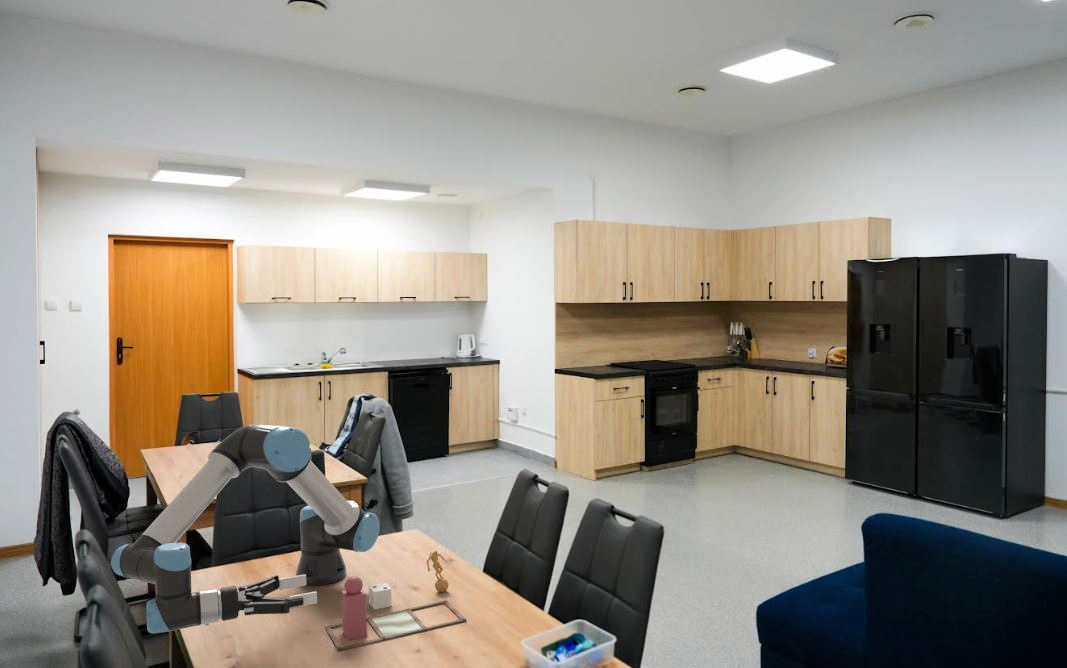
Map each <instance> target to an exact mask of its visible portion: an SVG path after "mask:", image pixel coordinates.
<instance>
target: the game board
mask: <svg viewBox="0 0 1067 668" xmlns="http://www.w3.org/2000/svg"><path fill="white" fill-rule="evenodd" d="M439 605H445V606H446V607H447V608H448V609H449V610H450V611H451V612H452V613H453V614H454V615H456V617H457V618H458V619H456V620H452V621H448V622H443V623H439V624H435V625H431V626H425V624H424V623H423V622H422V621H421V619H419V618H418V616H416V614H415V613H414V612H413V611H417V610H421V609H426V608H431V607H435V606H439ZM367 620H368V621H367V623H369V625H370V627H372V629H373V630H374V631H375V633H376V634H377V636H378V638H374V639H370V640H365V641H362V642H358V643H352V644H349V645H344V646H342V645H341V643H340V642H339V640H338V639H337V637H336V635H335V633H334V632H333V630H332V629H334V628H335V627H336V628H340V627H343V622H341V623H336V624H331V625H327V626H324V627H325V628H326V629H325V630H326V632H327V634H328V635H329V637H330V640H331V641H332V642H334V643H333V644H334V646H335V648H336V649H338V650H337V651H338V652H340V651H345V650H346V651H347V650H350V649H354V648H358V647H361V646H366V645H371V644H375V643H379V642H383V641H387V640H392V639H393V640H394V639H397V638H401V637H405V636H409V635H413V634H418V633H424V632H427V631H430V630H434V629H440V628H443V627H447V626H452V625H457V624H459V623H460V624H462V623H465V622H467V618H465V617H464V616H463V615H462V614H461V613H460V612H459V611H458V610H457V609H456V608H455V607H454V606H453V605H452V604H451V603H449V601H448V600H442V601H436V602H432V603H428V604H424V605H419V606H415V607H410V608H404V609H401V610H395V611H391V612H386V613H382V614H377V615H373V616H368V617H367ZM339 626H340V627H339Z"/></svg>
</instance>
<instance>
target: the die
mask: <svg viewBox="0 0 1067 668" xmlns="http://www.w3.org/2000/svg"><path fill="white" fill-rule="evenodd" d="M368 603H369V605H370V606H371V608H372V609H373V610H380V608H381V609H384V608H390V607H392V588H391V587H390V586H389V584H388V583H387V582H384V583H379V584H374V585H373V584H372V585H369V586H368Z"/></svg>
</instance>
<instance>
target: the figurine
mask: <svg viewBox="0 0 1067 668" xmlns="http://www.w3.org/2000/svg"><path fill="white" fill-rule="evenodd" d="M439 557H440V558H441V560H443V561H444V562H445V564H447V561H446V558H444V557H443V556H442V555H441V554H440V553H438V550H435V551H431V552H430V553H429V557H428V558H427V560H426V564H427V565H426V566H427V572H428V573H430V572H431V568H430V565H429V564H430V562H429V561H432V563H433V564H432V568H433V569H434V571H435V577H436V578H437V580H436V581H435V584H434V588H435V590H436V591H437V592H438V593H445V592H446V591H447V590H448V588H449V582H448V580H447V579H446V578H444V576H443V575H441V573H442V572H443V569H444V568H443V567H442V565H441V564H440V561H439ZM438 575H439V576H438Z"/></svg>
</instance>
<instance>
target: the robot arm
mask: <svg viewBox="0 0 1067 668" xmlns="http://www.w3.org/2000/svg"><path fill="white" fill-rule="evenodd" d="M310 446H311V442H310V439H309V437H308V435H307V434H306V433H305V432H304V431H303V430H301V429H300V428H296V427H292V426H290V425H268V424H267V425H266V424H259V423H253V424H248V425H244V426H242V427H240V428H238V429H236V430H235V431H233V432H232V433H230V434H229V435H227V436H226V437H225V438H224V439H223V440H222V441H220V442H219V443H218V444H217V445H216V446H215V447H214V448H213V449H212V450H211V452H209V454H208V456H207V462H205V464H204V465H203V466H202V467H201V468H200V470H198V472H197V473H196V474H195V475H194V476H193V477H192V478H191V480H190V481H188V483H187V484H186V485H185V486H184V487H183V488H182V489H181V490H180V492H179V493H178V494H177V495H176V496H175V497H174V498H173V499H172V500H171V502H170V503H169V504H168V505H167V506H166V507H165V509H164V510H163V511H162V512H160V514H159V515H157V517H156V518H155V520H153V522H152V523H151V524H150V525H149V526H148V527H147V528H146V530H144V531H143V533H141V535H140V536H139V537H138V538H137V539H136V541H135V542H133V543H126V544H123V545H121V546H119V547H118V548H117V549H116V550H115V551H114V552H113V554H112V556H111V560H110V561H111V562H110V563H111V564H110V565H111V568H112V570H113V572H114V573H115V574H116V575H118V576H121V577H124V578H126V579H129V580H137V581H140V582H141V581H142V582H144V583H149V584H153V585H154V591H155V598H152V599H150V600H148V601H146V629H147V632H148V633H150V634H159V633H160V634H161V633H166V632H168V633H170V632H172V631H177V630H183V629H187V628H188V629H189V628H193V627H197V626H202V625H203V626H206V627H207V626H209V625H210V624H213V623H218V622H219V620H220V619H221V621H224V622H225V621H229V620H235V619H238V617H239V613H240V612H241V611H243V613H244V616H251V615H253V616H254V615H275V614H277V615H282V614H283V615H284V614H289V613H290V609H294V608H300V607H304V606H310V605H311V606H312V605H315V604H318V592H317V591H311V592H310V591H309V592H306V593H305V592H304V593H299V594H294V595H289V596H288V598H286V597H275V596H267V595H269V594H271V593H272V592H275V591H277V590H280V591H282V590H289V589H293V588H300V587H304V586H322V585H328V584H334V583H335V582H339V581H340V580H342V579H345V577H346V576H345V575H347V566H346V563H345V561H344V558H343V555H342V553H341V550H346V551H353V552H355V553H360V552H361V553H365V552H368V551H369V550H371V549H372V548H373V547H374V546H375V543H376V542H377V540H378V537H379V534H380V525H381V524H380V520H379V519H380V518H379V517H378V515H377V514H375V513H373V512H367V511H364V510H363V509H362V508H361V506H360V505H359V504H358V503H356V501H354V500H348V499H346V498H345V497H344V496H343V494H342V493H341V492H340V491H339V490H338V489H337V488H336V487H335V486H334V484H333V483H332V482H331V481H330V480H329V479H328V478H327V476H326V475H325V474H323V472H322V471H321V470H320V469H319V468H318V466H316V465H315V463H313V461H312V448H311V447H310ZM249 468H254V469H262V470H265V471H267V472H268V473H269V475H270V476H271V477H272V478H274V480H275V481H277V482H279V483H287V484H288V485H289V487H291V489H293V491H294V492H295V494H297V495H298V496H299V497H300V498H301V499H302V500H303V501H304V503H306V504H307V505H306V506H304V507H302V508H301V510H300V511H299V512H300V513H299V516H300V517H299V535H300V537H299V538H300V558H299V560H298V564H297V568H296V571H295V575H294V576H288V577H282V578H281V577H279V575H277V574H275V575H274V576H270V577H268V578H264V579H261V580H259V581H255V582H253V583H249V584H245V585H242V586H238V587H237V586H236V585H232V586H231V585H230V586H227V587H226V586H225V587H221V588H219V590H218V589H217V588H212V589H206V590H201V591H196V592H192V558H191V548H190V546H189V545H188V544H187V543H185V542H178V541H179V540H180V539H181V537H182V536H183V535H184V534H185V533H186V532H187V531H188V529H189V528H190V527H191V526H192V525H193V524H194V522H195V521H196V520H197V519H198V518H199V516H201V514H202V513H203V512H204V511H205V509H206V508H207V507H208V506H209V505H211V503H212V502H213V500H214V499H215V498H216V497H217V496H218V494H219V493H221V491H222V490H223V489H224V488H225V486H226V485H227V484H228V483H229V482H230V480H231V479H236V478H238V477H239V476H240V475H241V474H242V473H243V472H244V471H245V470H247V469H249Z"/></svg>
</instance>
